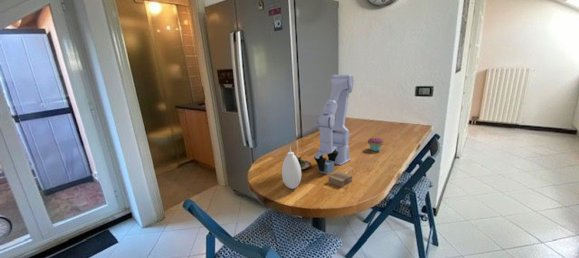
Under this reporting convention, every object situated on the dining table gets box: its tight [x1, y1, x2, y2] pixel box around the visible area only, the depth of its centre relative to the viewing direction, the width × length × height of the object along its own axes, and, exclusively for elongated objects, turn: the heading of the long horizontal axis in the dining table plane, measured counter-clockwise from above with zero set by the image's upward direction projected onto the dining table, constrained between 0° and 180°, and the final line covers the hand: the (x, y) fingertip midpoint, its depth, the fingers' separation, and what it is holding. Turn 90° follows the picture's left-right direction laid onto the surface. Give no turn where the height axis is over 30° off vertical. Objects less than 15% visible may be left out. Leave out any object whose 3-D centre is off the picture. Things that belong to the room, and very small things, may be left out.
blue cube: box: [318, 158, 335, 175], centre depth 117 cm, size 5×5×5 cm
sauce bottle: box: [281, 146, 302, 190], centre depth 102 cm, size 8×8×18 cm
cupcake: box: [367, 129, 385, 152], centre depth 143 cm, size 9×8×12 cm
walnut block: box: [328, 171, 353, 188], centre depth 107 cm, size 7×7×3 cm
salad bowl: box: [294, 152, 312, 171], centre depth 124 cm, size 12×12×8 cm
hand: (326, 168), depth 118 cm, fingers open, 7 cm apart
